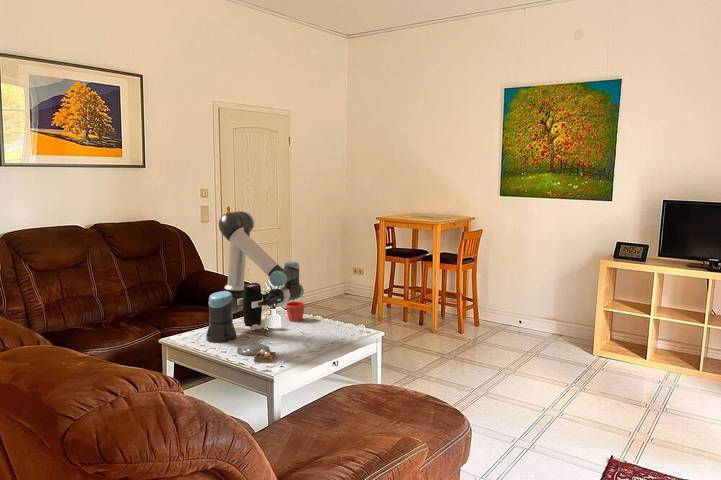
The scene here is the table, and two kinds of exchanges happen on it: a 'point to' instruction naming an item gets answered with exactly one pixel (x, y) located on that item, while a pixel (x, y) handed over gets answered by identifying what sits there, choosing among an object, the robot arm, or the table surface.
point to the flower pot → (295, 311)
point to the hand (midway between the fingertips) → (245, 303)
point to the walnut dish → (264, 359)
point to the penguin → (259, 325)
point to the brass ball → (267, 354)
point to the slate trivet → (251, 349)
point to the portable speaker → (251, 295)
